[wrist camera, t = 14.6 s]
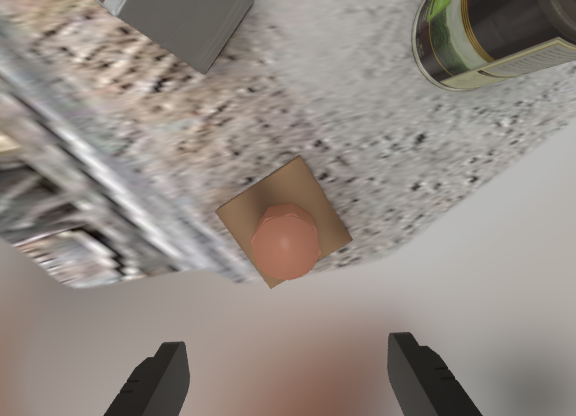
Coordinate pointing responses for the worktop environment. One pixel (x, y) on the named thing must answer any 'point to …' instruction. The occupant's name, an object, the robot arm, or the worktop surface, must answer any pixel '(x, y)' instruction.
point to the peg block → (279, 190)
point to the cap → (285, 242)
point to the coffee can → (491, 39)
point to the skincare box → (183, 25)
